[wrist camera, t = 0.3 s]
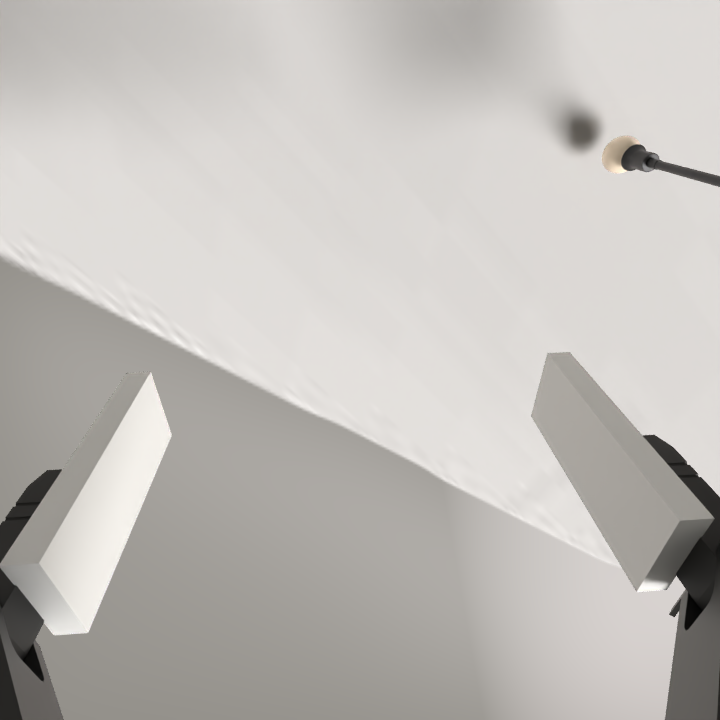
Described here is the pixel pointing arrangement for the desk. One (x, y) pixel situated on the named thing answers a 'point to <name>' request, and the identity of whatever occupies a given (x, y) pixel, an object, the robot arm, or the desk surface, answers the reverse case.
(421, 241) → the desk surface
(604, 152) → the light fixture
